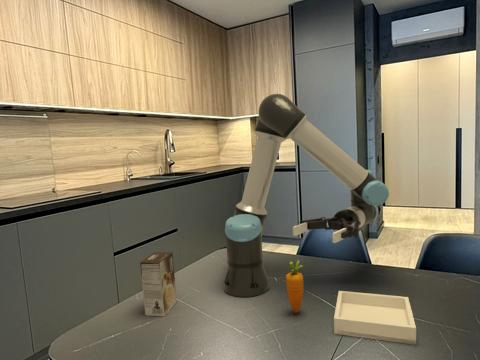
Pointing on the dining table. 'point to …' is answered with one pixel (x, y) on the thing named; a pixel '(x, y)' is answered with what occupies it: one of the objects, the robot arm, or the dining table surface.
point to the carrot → (295, 287)
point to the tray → (375, 317)
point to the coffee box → (158, 283)
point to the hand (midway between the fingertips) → (312, 234)
